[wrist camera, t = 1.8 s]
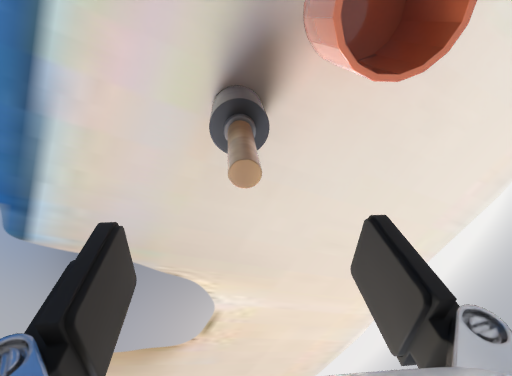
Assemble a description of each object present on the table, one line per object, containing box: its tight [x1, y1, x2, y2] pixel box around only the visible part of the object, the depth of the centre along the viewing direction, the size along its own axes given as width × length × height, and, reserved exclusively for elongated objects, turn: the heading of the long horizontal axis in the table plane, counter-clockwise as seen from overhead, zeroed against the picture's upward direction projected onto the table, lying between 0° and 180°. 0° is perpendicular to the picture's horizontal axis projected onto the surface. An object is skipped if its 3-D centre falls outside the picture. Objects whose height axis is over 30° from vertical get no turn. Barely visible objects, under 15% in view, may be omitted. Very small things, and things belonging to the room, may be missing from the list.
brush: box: [209, 85, 269, 188], centre depth 22 cm, size 5×5×13 cm
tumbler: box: [304, 0, 477, 82], centre depth 20 cm, size 9×9×8 cm
